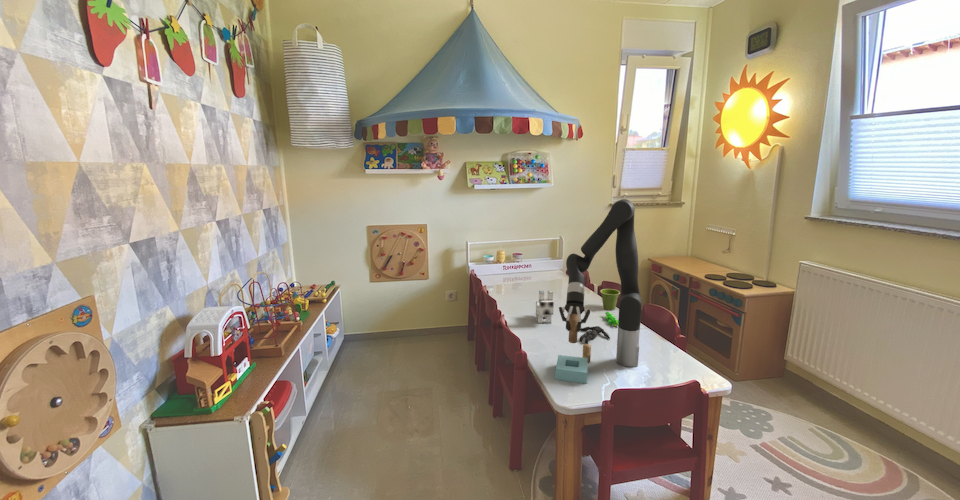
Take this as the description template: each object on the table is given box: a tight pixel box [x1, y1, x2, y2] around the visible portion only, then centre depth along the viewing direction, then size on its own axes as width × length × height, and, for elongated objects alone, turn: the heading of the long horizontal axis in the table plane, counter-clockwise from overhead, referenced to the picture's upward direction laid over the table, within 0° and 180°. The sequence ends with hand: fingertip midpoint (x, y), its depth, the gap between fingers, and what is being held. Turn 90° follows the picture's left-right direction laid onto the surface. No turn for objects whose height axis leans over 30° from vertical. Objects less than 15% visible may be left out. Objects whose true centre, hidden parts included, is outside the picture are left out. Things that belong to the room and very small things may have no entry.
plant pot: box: [599, 288, 621, 311], centre depth 248 cm, size 12×12×11 cm
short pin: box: [581, 343, 592, 364], centre depth 181 cm, size 4×4×8 cm
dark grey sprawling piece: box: [579, 325, 611, 344], centre depth 208 cm, size 18×4×20 cm
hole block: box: [555, 354, 589, 384], centre depth 171 cm, size 13×13×5 cm
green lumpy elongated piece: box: [604, 311, 618, 327], centre depth 227 cm, size 7×18×4 cm, turn 0°
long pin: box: [568, 314, 579, 344], centre depth 167 cm, size 4×4×12 cm
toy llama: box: [535, 290, 555, 325], centre depth 228 cm, size 8×18×20 cm, turn 1°
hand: (573, 330), depth 165 cm, fingers closed on long pin, 3 cm apart
